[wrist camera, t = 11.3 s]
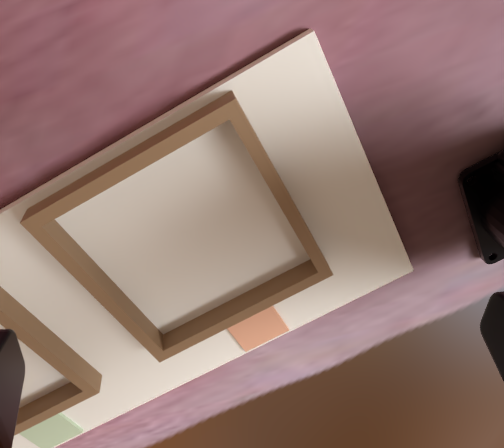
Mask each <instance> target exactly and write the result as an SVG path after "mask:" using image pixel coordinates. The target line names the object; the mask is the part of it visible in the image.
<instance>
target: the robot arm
mask: <svg viewBox="0 0 504 448" xmlns="http://www.w3.org/2000/svg"><path fill="white" fill-rule="evenodd" d="M470 177H472V179H471V180H470V181H468V182H467V180H468V179H469V178H470ZM458 183H459V186H460V189H461V193H462V196H463V200H464V203H465V206H466V210H467V213H468V216H469V220H470V223H471V227H472V230H473V233H474V237H475V240H476V243H477V247H478V250H479V254H480V257H481V258H482V260H483V261H484V262H485V263H487V264H493V263H496V262H498V261H500V260H502V259H504V150H502V151H500V152H498V153H497V154H495V155H493V156H491V157H489V158H487V159H485V160H483V161H481V162H479V163H477V164H475V165H473V166H471V167H469V168H467V169H465V170H464V171H463V172H462V173H461V174H460V175H459V178H458ZM491 254H492V255H491ZM480 330H481V334H482V337H483V339H484V341H485V343H486V345H487V347H488V349H489V352H490V354H491V356H492V358H493V360H494V362H495V364H496V366H497V368H498V371H499V373H500V375H501V377H502V379H503V381H504V292H496V293H494V294H493V295H492V296H491V297H490V299H489V302H488V304H487V307H486V309H485V312H484V314H483V317H482V320H481V323H480ZM24 378H25V362H24V358H23V355H22V352H21V348H20V345H19V342H18V339H17V335H16V333H15V332H14V330H12V329H0V448H12V444H13V439H14V433H15V428H16V422H17V416H18V411H19V405H20V400H21V394H22V389H23V383H24Z"/></svg>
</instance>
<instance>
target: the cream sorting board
mask: <svg viewBox="0 0 504 448" xmlns="http://www.w3.org/2000/svg"><path fill="white" fill-rule="evenodd" d="M412 271H414V270H413V267H412V265H411V263H410V260H409V258H408V255H407V253H406V251H405V248H404V246H403V243H402V241H401V239H400V236H399V234H398V231H397V229H396V226H395V224H394V222H393V219H392V217H391V214H390V212H389V210H388V207H387V205H386V202H385V200H384V198H383V195H382V193H381V190H380V188H379V186H378V183H377V181H376V178H375V176H374V174H373V171H372V169H371V166H370V164H369V162H368V159H367V157H366V154H365V152H364V150H363V147H362V145H361V142H360V140H359V138H358V135H357V133H356V130H355V128H354V126H353V123H352V121H351V118H350V116H349V114H348V111H347V109H346V106H345V104H344V102H343V99H342V97H341V94H340V92H339V90H338V87H337V85H336V82H335V80H334V77H333V75H332V73H331V70H330V68H329V65H328V63H327V61H326V58H325V56H324V53H323V51H322V49H321V46H320V44H319V41H318V39H317V37H316V34H315V32H314V30H312V29H308V30H307V31H305V32H303V33H301V34H300V35H298V36H296V37H295V38H293V39H291V40H289V41H288V42H286V43H284V44H283V45H281V46H279V47H277V48H276V49H274V50H272V51H271V52H269V53H267V54H266V55H264V56H262V57H260V58H259V59H257V60H255V61H254V62H252V63H250V64H248V65H247V66H245V67H243V68H242V69H240V70H238V71H236V72H235V73H233V74H231V75H230V76H228V77H226V78H224V79H223V80H221V81H219V82H218V83H216V84H214V85H212V86H211V87H209V88H207V89H206V90H204V91H202V92H200V93H199V94H197V95H195V96H194V97H192V98H190V99H189V100H187V101H185V102H183V103H182V104H180V105H178V106H177V107H175V108H173V109H171V110H170V111H168V112H166V113H165V114H163V115H161V116H159V117H158V118H156V119H154V120H153V121H151V122H149V123H147V124H146V125H144V126H142V127H141V128H139V129H137V130H135V131H134V132H132V133H130V134H129V135H127V136H125V137H124V138H122V139H120V140H118V141H117V142H115V143H113V144H112V145H110V146H108V147H106V148H105V149H103V150H101V151H100V152H98V153H96V154H94V155H93V156H91V157H89V158H88V159H86V160H84V161H82V162H81V163H79V164H77V165H76V166H74V167H72V168H70V169H69V170H67V171H65V172H64V173H62V174H60V175H59V176H57V177H55V178H53V179H52V180H50V181H48V182H47V183H45V184H43V185H41V186H40V187H38V188H36V189H35V190H33V191H31V192H29V193H28V194H26V195H24V196H23V197H21V198H19V199H17V200H16V201H14V202H12V203H11V204H9V205H7V206H5V207H4V208H2V209H0V329H12V330H14V332H15V333H16V335H17V339H18V342H19V345H20V348H21V352H22V355H23V358H24V362H25V378H24V383H23V389H22V394H21V400H20V405H19V411H18V416H17V422H16V428H15V433H14V439H13V444H12V448H55V447H57V446H59V445H61V444H63V443H65V442H67V441H69V440H71V439H73V438H75V437H77V436H79V435H81V434H83V433H85V432H87V431H89V430H91V429H93V428H95V427H97V426H99V425H101V424H103V423H105V422H107V421H109V420H111V419H114V418H116V417H118V416H120V415H122V414H124V413H126V412H128V411H130V410H132V409H134V408H136V407H138V406H140V405H142V404H144V403H146V402H148V401H150V400H152V399H154V398H156V397H158V396H160V395H162V394H164V393H166V392H168V391H170V390H172V389H174V388H176V387H178V386H180V385H183V384H185V383H187V382H189V381H191V380H193V379H195V378H197V377H199V376H201V375H203V374H205V373H207V372H209V371H211V370H213V369H215V368H217V367H219V366H221V365H223V364H225V363H227V362H229V361H231V360H233V359H235V358H237V357H239V356H241V355H243V354H245V353H247V352H250V351H252V350H254V349H256V348H258V347H260V346H262V345H264V344H266V343H268V342H270V341H272V340H274V339H276V338H278V337H280V336H282V335H284V334H286V333H288V332H290V331H292V330H294V329H296V328H298V327H300V326H302V325H304V324H306V323H308V322H310V321H312V320H314V319H317V318H319V317H321V316H323V315H325V314H327V313H329V312H331V311H333V310H335V309H337V308H339V307H341V306H343V305H345V304H347V303H349V302H351V301H353V300H355V299H357V298H359V297H361V296H363V295H365V294H367V293H369V292H371V291H373V290H375V289H377V288H379V287H381V286H384V285H386V284H388V283H390V282H392V281H394V280H396V279H398V278H400V277H402V276H404V275H406V274H408V273H410V272H412Z"/></svg>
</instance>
